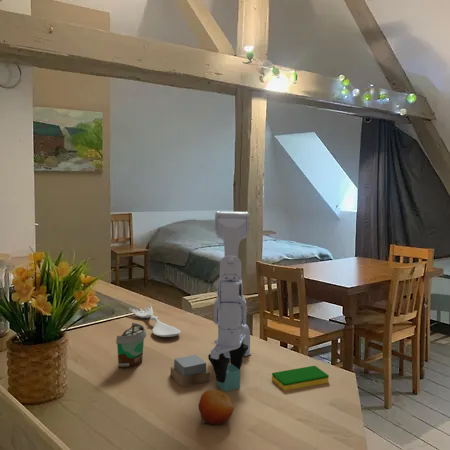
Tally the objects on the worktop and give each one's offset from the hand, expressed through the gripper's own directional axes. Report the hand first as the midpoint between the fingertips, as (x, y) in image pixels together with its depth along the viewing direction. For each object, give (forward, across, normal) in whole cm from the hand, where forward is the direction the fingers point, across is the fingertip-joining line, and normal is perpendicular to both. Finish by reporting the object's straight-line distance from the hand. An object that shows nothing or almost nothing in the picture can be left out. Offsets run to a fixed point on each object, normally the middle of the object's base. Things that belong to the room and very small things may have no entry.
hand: (228, 376), depth 135 cm
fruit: (+3, +16, +7) cm, 18 cm away
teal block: (+3, 0, 0) cm, 3 cm away
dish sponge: (+3, -14, +15) cm, 20 cm away
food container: (+3, +2, -30) cm, 30 cm away
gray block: (0, +2, -11) cm, 11 cm away
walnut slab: (+3, +2, -11) cm, 12 cm away
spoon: (+3, -26, -46) cm, 53 cm away
